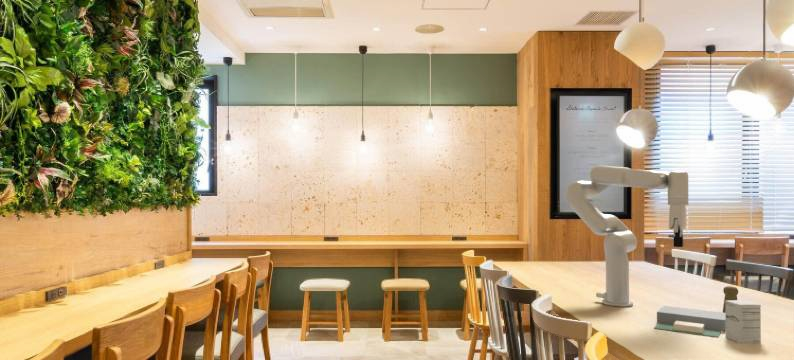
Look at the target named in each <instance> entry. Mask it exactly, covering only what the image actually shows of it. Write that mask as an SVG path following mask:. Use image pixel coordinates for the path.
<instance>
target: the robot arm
mask: <svg viewBox="0 0 794 360" xmlns="http://www.w3.org/2000/svg"><path fill="white" fill-rule="evenodd" d="M589 177H590V179H588V180H575V181H573V182H571V183H570V184H569V185H568V186H567V189H566V192H565V194H566V195H565V196H566V197H565V198H566V201H567V203H568V205H569V207H570V208H571V210H573V212H574V213H575V214H576V215H577V216H578V217H579V219H580V220H582V222H584V223H585V225H586V226H587V227H588V228H589V229H590V231H592V232H593V233H594V234H595V235H597V236H605V237H604V240H603V250H604V257H605V292H603V293H602V292H596V293H595V295H596V298H600V299H601V298H602V300H601V303H602V304H604V305H606V306H612V307H621V308H623V307H627V308H628V307H632V306H634V302H633V301H631V300H630V263H629V257H628V253H630V252H632V251H634V250H635V249H636V248H637V245H638V239H637V237H636V235H635V234H634V233H633V232H632V231H631V229H630V228H628V226H627V225H626V224H625V223H623V222H622V221H621V219H619V218H618V217H617V216H616V215H613V214H608V213H603V212H602V211H600V209H599V208H598V207H597V206H596V205H595V203H592V202H591V201H589V200H592V199H594V198H596V197H598V196H599V195H601V194H602V193H603V192H604V191H606V190H607V189H609V187H611V186H615V187H624V188H629V187H630V188H640V189H649V190H667V205H668V206H669V210H668V211H669V212H668V213H669V215H668V229H669V230H673V247H676V248H682V247H684V236H683V234H684V230H685V229H686V226H687V225H686V222H687V219H686V218H687V217H686V216H687V215H686V214H687V212H686V206H689V174H688V172H686V171H683V170H682V171H681V170H679V171H678V170H675V171H672V170H671V171H669V172H668V171H661V170H660V171H659V170H647V169H646V170H645V169H633V168H629V167H624V166H612V165H596V166H594V167H592V169H591V170H590V171H589ZM588 199H589V200H588Z"/></svg>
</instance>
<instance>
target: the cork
mask: <svg viewBox="0 0 794 360" xmlns="http://www.w3.org/2000/svg"><path fill="white" fill-rule="evenodd" d="M722 292H723V294H724V298H723V299H724V300H723V306H722V311H721V312H722V313H725V301H727V300H738V294H739V289H738V288H737V287H736V286H731V285H730V286H729V285H728V286H724V287H723V289H722Z"/></svg>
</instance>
